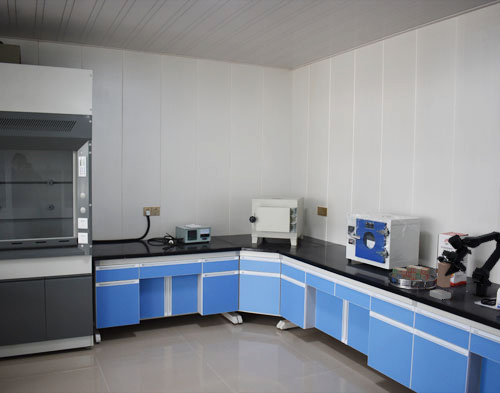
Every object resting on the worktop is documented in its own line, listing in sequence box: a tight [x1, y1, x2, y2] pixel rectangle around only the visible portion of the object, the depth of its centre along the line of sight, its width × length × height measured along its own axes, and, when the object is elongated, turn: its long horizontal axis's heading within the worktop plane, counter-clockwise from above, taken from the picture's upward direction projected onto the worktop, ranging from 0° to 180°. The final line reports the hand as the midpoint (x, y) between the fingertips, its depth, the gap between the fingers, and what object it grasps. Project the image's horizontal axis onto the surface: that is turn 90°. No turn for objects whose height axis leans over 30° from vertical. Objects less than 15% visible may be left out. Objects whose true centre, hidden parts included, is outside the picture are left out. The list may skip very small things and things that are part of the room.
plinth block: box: [429, 289, 452, 300], centre depth 258 cm, size 8×8×3 cm
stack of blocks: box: [391, 264, 431, 287], centre depth 282 cm, size 21×6×12 cm, turn 47°
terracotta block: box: [436, 262, 452, 288], centre depth 255 cm, size 5×5×13 cm
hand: (441, 274), depth 255 cm, fingers closed on terracotta block, 5 cm apart
